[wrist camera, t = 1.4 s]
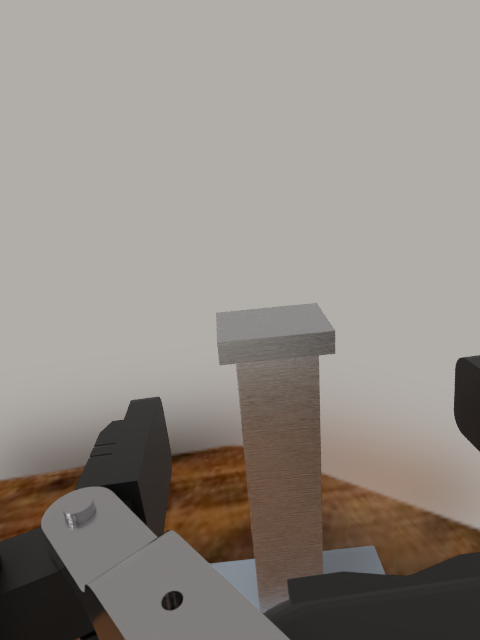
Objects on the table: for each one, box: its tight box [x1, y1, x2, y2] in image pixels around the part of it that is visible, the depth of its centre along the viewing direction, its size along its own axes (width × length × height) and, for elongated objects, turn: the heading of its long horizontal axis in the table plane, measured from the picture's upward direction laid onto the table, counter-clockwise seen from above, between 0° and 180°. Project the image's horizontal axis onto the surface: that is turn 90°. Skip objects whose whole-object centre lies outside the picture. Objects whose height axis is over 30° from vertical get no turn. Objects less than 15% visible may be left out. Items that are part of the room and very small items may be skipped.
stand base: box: [210, 545, 386, 610], centre depth 31 cm, size 16×12×10 cm
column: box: [216, 303, 335, 614], centre depth 28 cm, size 6×5×23 cm
